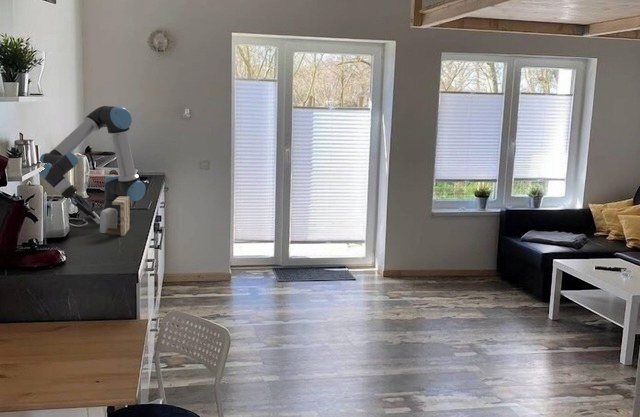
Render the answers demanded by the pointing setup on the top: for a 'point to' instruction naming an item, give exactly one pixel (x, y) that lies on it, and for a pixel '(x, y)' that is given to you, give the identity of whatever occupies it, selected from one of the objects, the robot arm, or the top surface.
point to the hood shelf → (122, 216)
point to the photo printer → (108, 219)
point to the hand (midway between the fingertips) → (100, 222)
